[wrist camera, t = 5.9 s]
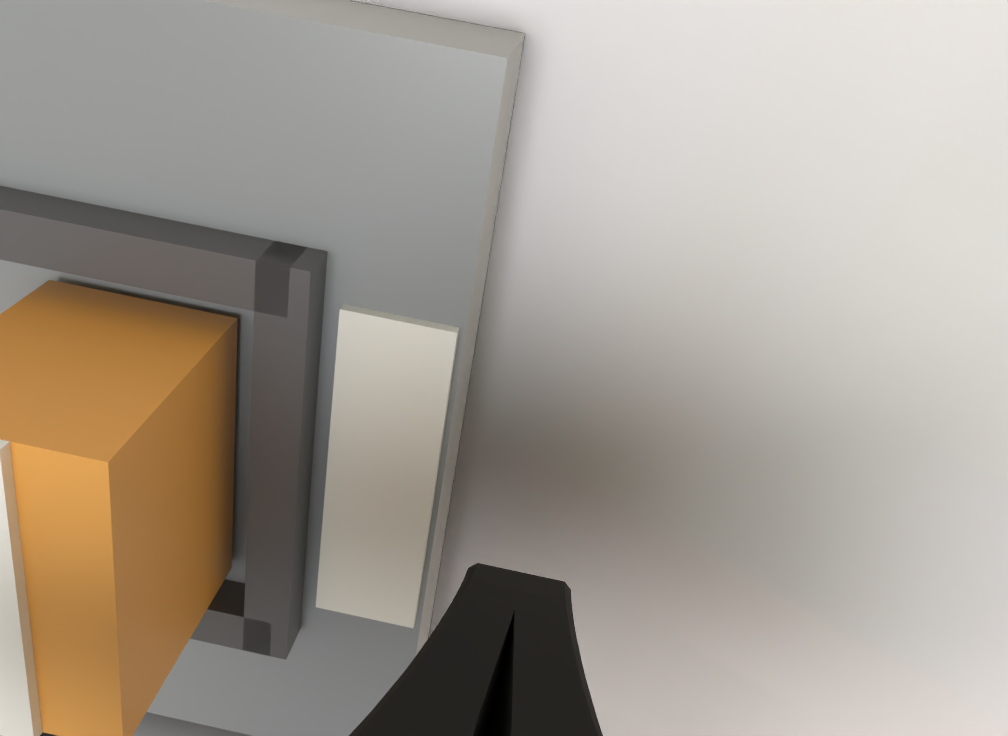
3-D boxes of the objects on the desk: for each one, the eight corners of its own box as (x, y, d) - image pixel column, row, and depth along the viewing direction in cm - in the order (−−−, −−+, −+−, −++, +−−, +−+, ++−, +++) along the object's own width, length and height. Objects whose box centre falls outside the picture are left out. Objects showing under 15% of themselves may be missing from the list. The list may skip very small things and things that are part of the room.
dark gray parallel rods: (462, 840, 23) (454, 887, 22) (-326, 661, 24) (-370, 698, 23) (481, 754, 22) (472, 800, 21) (-361, 567, 23) (-410, 601, 22)
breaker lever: (237, 318, 15) (99, 471, 11) (231, 567, 17) (116, 762, 13) (49, 279, 15) (-150, 418, 11) (69, 532, 17) (-88, 715, 14)
